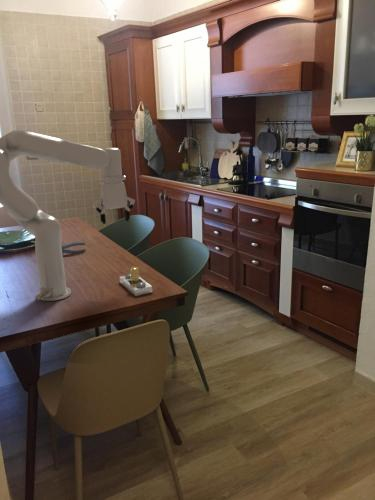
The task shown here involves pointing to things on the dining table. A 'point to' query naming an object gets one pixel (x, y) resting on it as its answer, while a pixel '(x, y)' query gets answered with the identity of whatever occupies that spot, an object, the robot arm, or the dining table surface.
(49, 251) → the robot arm
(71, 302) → the dining table surface
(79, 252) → the pliers
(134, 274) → the pin
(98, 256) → the dining table surface
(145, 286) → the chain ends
